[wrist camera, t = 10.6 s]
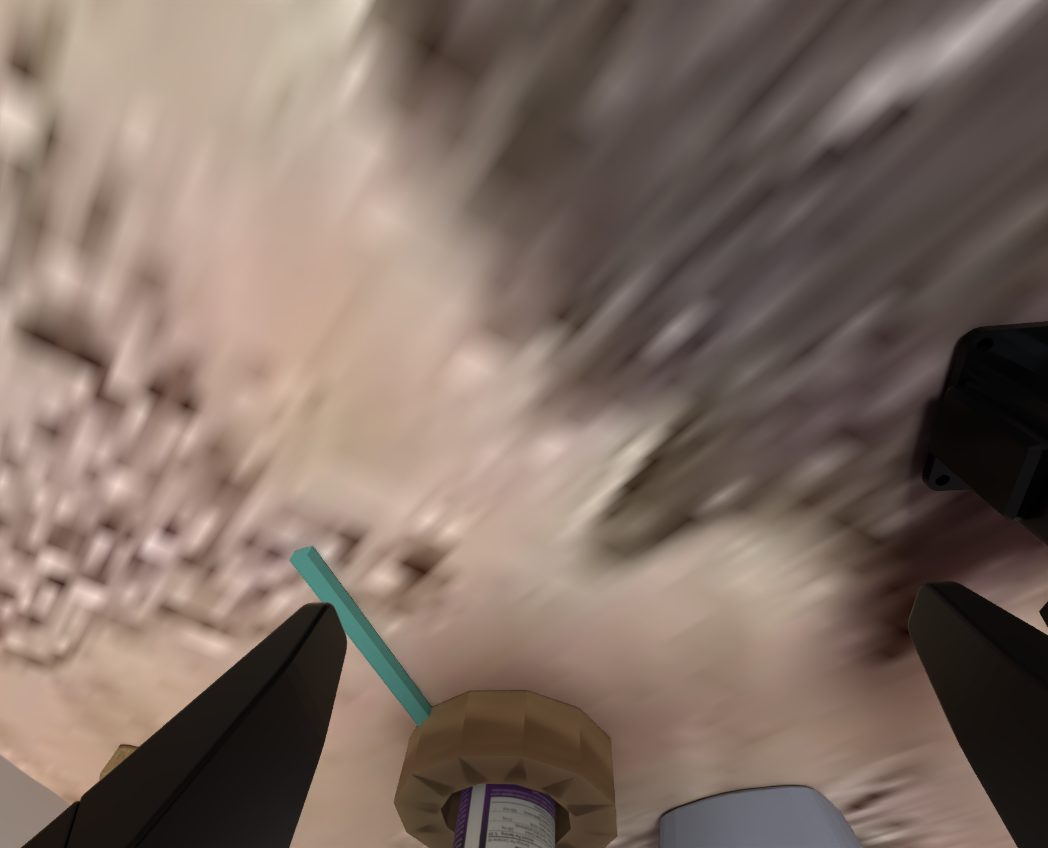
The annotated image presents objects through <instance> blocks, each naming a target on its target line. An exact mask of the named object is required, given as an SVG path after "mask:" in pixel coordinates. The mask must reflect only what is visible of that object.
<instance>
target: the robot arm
mask: <svg viewBox="0 0 1048 848" xmlns="http://www.w3.org/2000/svg"><path fill="white" fill-rule="evenodd" d="M984 338H985V341H984V343H983V344H982V345H981V346H979V347H977V344H978V342H979V341H981V340H982V339H984ZM941 475H942V477H940V478H939V479H937V477H939V476H941ZM922 480H923V481H924V483H925V484H926V485H927V486H929V487H930V488H931V489H933V490H936V491H946V490H965V489H973V490H974V491H975V492H976V493H977V494H978V495H979V496H981V497H982V498H983V499H984V500H985V501H986V502H987V503H989V504H990V505H991V506H992V507H993V508H994V509H995V510H997V511H998V512H999V513H1000V514H1001V515H1002V516H1003V517H1005V518H1006V519H1008V520H1018V521H1019V522H1020V523H1022V524H1023V525H1024V526H1025V527H1026V528H1027V529H1029V530H1030V531H1031V532H1032V533H1033V534H1034V535H1036V536H1037V537H1038V538H1039V539H1040V540H1041V541H1043V542H1044V543H1045V544H1046V545H1047V546H1048V321H1046V322H1034V323H1022V324H1010V325H998V326H985V327H979V328H975V329H973V330H971V331H969V332H968V333H967V334H966V335H965V336H964V337H963V339H962V341H961V344H960V347H959V351H958V354H957V358H956V361H955V365H954V368H953V371H952V375H951V378H950V382H949V385H948V389H947V391H946V393H945V394H944V398H943V401H942V405H941V408H940V411H939V415H938V418H937V422H936V425H935V429H934V432H933V436H932V439H931V443H930V446H929V454H928V457H927V461H926V464H925V468H924V471H923V475H922ZM1039 612H1040V614H1041V616H1042V618H1043V620H1044V622H1045V623H1046V625H1047V627H1048V602H1047V603H1046V604H1045V605H1044V606H1043V608H1042V609H1041V610H1040V611H1039ZM908 629H909V634H910V637H911V640H912V642H913V644H914V646H915V648H916V651H917V653H918V655H919V657H920V660H921V662H922V664H923V666H924V668H925V671H926V673H927V675H928V677H929V680H930V682H931V684H932V686H933V688H934V691H935V693H936V695H937V697H938V699H939V702H940V704H941V706H942V708H943V711H944V713H945V715H946V717H947V719H948V722H949V724H950V726H951V728H952V730H953V732H954V734H955V736H956V739H957V741H958V743H959V745H960V747H961V748H962V750H963V752H964V754H965V756H966V758H967V759H968V761H969V763H970V765H971V767H972V768H973V770H974V772H975V774H976V775H977V777H978V779H979V781H980V782H981V784H982V786H983V788H984V789H985V791H986V793H987V795H988V796H989V798H990V800H991V802H992V803H993V805H994V807H995V809H996V810H997V812H998V814H999V816H1000V817H1001V819H1002V821H1003V823H1004V824H1005V826H1006V828H1007V830H1008V831H1009V833H1010V835H1011V836H1012V838H1013V840H1014V842H1015V843H1016V845H1017V847H1018V848H1048V635H1047V634H1045V633H1043V632H1041V631H1040V630H1038V629H1036V628H1035V627H1033V626H1031V625H1029V624H1028V623H1026V622H1024V621H1023V620H1021V619H1019V618H1018V617H1016V616H1014V615H1012V614H1011V613H1009V612H1007V611H1006V610H1004V609H1002V608H1000V607H999V606H997V605H995V604H994V603H992V602H990V601H988V600H987V599H985V598H983V597H982V596H980V595H978V594H977V593H975V592H973V591H971V590H970V589H968V588H966V587H965V586H963V585H961V584H959V583H956V582H951V581H947V582H926V583H924V584H922V585H921V586H920V587H919V589H918V593H917V596H916V599H915V602H914V605H913V608H912V611H911V614H910V617H909V621H908ZM346 649H347V638H346V634H345V631H344V629H343V626H342V624H341V621H340V619H339V616H338V614H337V611H336V609H335V607H334V605H332V604H331V603H328V602H322V603H308V604H306V605H304V606H303V607H301V608H300V609H299V610H298V611H297V612H295V613H294V614H293V615H292V616H291V617H290V618H288V619H287V620H286V621H285V622H284V623H283V624H281V625H280V626H279V627H278V628H277V629H276V630H274V631H273V632H272V633H271V634H270V635H269V636H267V637H266V638H265V639H264V640H263V641H262V642H260V643H259V644H258V645H257V646H256V647H255V648H253V649H252V650H251V651H250V652H249V653H248V654H247V655H245V656H244V657H243V658H242V659H241V660H240V661H238V662H237V663H236V664H235V665H234V666H233V667H231V668H230V669H229V670H228V671H227V672H226V673H224V674H223V675H222V676H221V677H220V678H219V679H217V680H216V681H215V682H214V683H213V684H212V685H210V686H209V687H208V688H207V689H206V690H205V691H203V692H202V693H201V694H200V695H199V696H198V697H197V698H195V699H194V700H193V701H192V702H191V703H190V704H188V705H187V706H186V707H185V708H184V709H183V710H181V711H180V712H179V713H178V714H177V715H176V716H174V717H173V718H172V719H171V720H170V721H169V722H167V723H166V724H165V725H164V726H163V727H162V728H160V729H159V730H158V731H157V732H156V733H155V734H153V735H152V736H151V737H150V738H149V739H148V740H147V741H145V742H144V743H143V744H142V745H141V746H140V747H138V748H137V749H136V750H135V751H134V752H133V753H131V754H130V755H129V756H128V757H127V758H126V759H124V760H123V761H122V762H121V763H120V764H119V765H117V766H116V767H115V768H114V769H113V770H112V771H110V772H109V773H108V774H107V775H106V776H105V777H103V778H102V779H101V780H100V781H99V782H98V783H96V784H95V785H94V786H93V787H92V788H91V789H89V790H88V791H87V792H86V793H85V794H84V795H83V796H82V797H81V800H80V801H76V802H74V803H73V804H72V805H71V806H69V807H68V808H67V809H66V810H65V811H64V812H63V813H61V814H60V815H59V816H58V817H57V818H56V819H54V820H53V821H52V822H51V823H50V824H49V825H47V826H46V827H45V828H44V829H43V830H41V831H40V832H39V833H38V834H37V835H36V836H34V837H33V838H32V839H31V840H30V841H28V842H27V843H26V844H25V845H24V846H22V847H21V848H289V847H290V844H291V841H292V838H293V835H294V832H295V829H296V826H297V823H298V820H299V817H300V814H301V812H302V809H303V806H304V803H305V800H306V797H307V794H308V791H309V788H310V785H311V782H312V779H313V776H314V773H315V770H316V768H317V765H318V762H319V758H320V755H321V752H322V749H323V746H324V742H325V738H326V734H327V731H328V726H329V722H330V718H331V714H332V709H333V705H334V701H335V697H336V692H337V688H338V684H339V680H340V675H341V671H342V667H343V663H344V658H345V654H346Z"/></svg>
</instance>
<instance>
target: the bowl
mask: <svg viewBox="0 0 1048 848" xmlns="http://www.w3.org/2000/svg"><path fill="white" fill-rule="evenodd" d="M659 848H863V846H862V845H861V843H860V841H859V840H858V838H857V836H856V835H855V833H854V832H853V830H852V828H851V827H850V825H849V823H848V822H847V821H846V819H845V818H844V816H843V815H842V814H841V812H840V811H839V810H838V809H837V808H836V807H835V806H834V805H833V804H832V803H831V802H830V801H829V800H828V799H827V798H826V797H825V796H823V795H822V794H820V793H818V792H817V791H815V790H813V789H810V788H808V787H805V786H776V787H766V788H757V789H747V790H741V791H735V792H729V793H724V794H720V795H716V796H712V797H708V798H705V799H702V800H699V801H696V802H693V803H690V804H687V805H684V806H681V807H678V808H676V809H674V810H672V811H670V812H668V813H667V814H665V815H664V816H663V817H662V818H661V821H660V835H659Z"/></svg>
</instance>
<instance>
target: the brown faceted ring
mask: <svg viewBox="0 0 1048 848" xmlns="http://www.w3.org/2000/svg"><path fill="white" fill-rule="evenodd" d="M477 784H516V785H519V786H522V787H526V788H529V789H532V790H535V791H539V792H542V793H545V794H548V795H549V796H551V797H552V798H553V799H554V800H555V848H605V847H606V846H607V845H608V844H609V843H610V842H611V841H612V840H614V839H615V838H616V837H617V825H616V809H615V794H614V781H613V768H612V755H611V742H610V737H609V736H608V735H607V734H606V733H604V732H603V731H602V730H601V729H600V728H599V727H598V726H597V725H596V724H595V723H594V722H593V721H592V720H591V719H590V718H589V717H588V716H587V715H586V714H585V713H584V712H582V711H581V710H580V709H579V708H577V707H574V706H571V705H568V704H565V703H562V702H559V701H556V700H553V699H550V698H547V697H544V696H541V695H538V694H535V693H532V692H529V691H469V692H467V693H464V694H462V695H460V696H457V697H455V698H452V699H450V700H448V701H445V702H443V703H441V704H438V705H436V706H434V707H432V708H431V713H430V717H429V718H427V719H425V720H424V721H423V722H422V724H421V726H420V727H419V726H418V725H417V727H416V729H415V730H414V732H413V734H412V736H411V737H410V740H409V744H408V748H407V752H406V756H405V759H404V763H403V767H402V771H401V775H400V779H399V783H398V787H397V791H396V795H395V799H394V804H395V807H396V809H397V811H398V814H399V816H400V818H401V821H402V823H403V825H404V828H405V830H406V832H407V833H408V834H410V835H411V836H413V837H414V838H416V839H417V840H419V841H420V842H422V843H423V844H425V845H426V846H428V847H429V848H453V842H454V835H455V828H456V822H457V815H458V809H459V802H460V795H461V790H463V789H466V788H469V787H472V786H474V785H477Z"/></svg>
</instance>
